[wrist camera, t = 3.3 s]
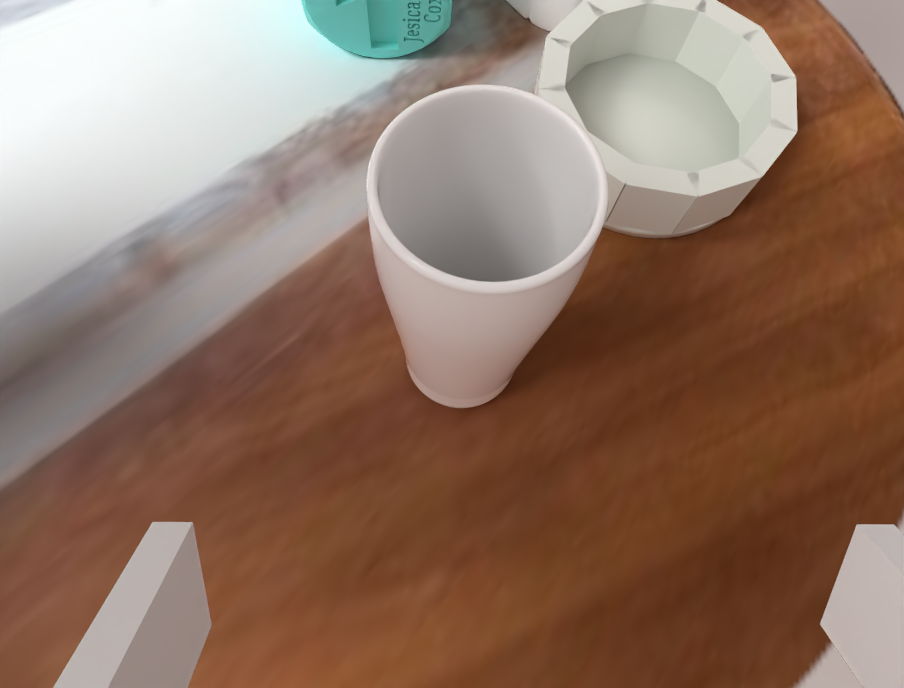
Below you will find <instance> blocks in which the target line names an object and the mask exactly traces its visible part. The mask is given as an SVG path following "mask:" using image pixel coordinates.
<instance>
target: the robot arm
mask: <svg viewBox="0 0 904 688" xmlns="http://www.w3.org/2000/svg"><path fill="white" fill-rule="evenodd" d="M820 625H821V627H822V628H823V629H824V631H825V632H826V634H827V635H828V637H829V638H830V640H831V641H832V643H833V644H834V646H835V647H836V649H837V650H838V652H839V653H840V654H841V656H842V657H843V659H844V660H845V662H846V663H847V665H848V666H849V668H850V669H851V671H852V672H853V674H854V675H855V677H856V678H857V679H858V681H859V683H860V684H861V686H862V687H863V688H904V534H903V533H902V532H901V531H900V530H899V529H898V528H897V527H896V526H895V525H886V524H857V525H856V528H855V531H854V533H853V536H852V539H851V542H850V544H849V547H848V550H847V552H846V555H845V558H844V560H843V563H842V566H841V569H840V571H839V574H838V577H837V579H836V582H835V585H834V587H833V590H832V593H831V595H830V598H829V601H828V604H827V606H826V609H825V612H824V614H823V617H822V620H821V622H820ZM211 626H212V625H211V619H210V614H209V608H208V603H207V597H206V592H205V586H204V581H203V575H202V570H201V564H200V559H199V553H198V548H197V542H196V537H195V531H194V526H193V522H152V524H151V525H150V527H149V529H148V530H147V532H146V534H145V535H144V537H143V539H142V540H141V542H140V544H139V545H138V547H137V549H136V550H135V552H134V554H133V555H132V557H131V559H130V560H129V562H128V564H127V565H126V567H125V569H124V570H123V572H122V574H121V575H120V577H119V579H118V580H117V582H116V584H115V585H114V587H113V589H112V590H111V592H110V594H109V595H108V597H107V599H106V600H105V602H104V604H103V605H102V607H101V609H100V610H99V612H98V614H97V615H96V617H95V619H94V620H93V622H92V624H91V625H90V627H89V629H88V630H87V632H86V634H85V635H84V637H83V639H82V640H81V642H80V644H79V645H78V647H77V649H76V650H75V652H74V654H73V655H72V657H71V659H70V660H69V662H68V664H67V665H66V667H65V669H64V670H63V672H62V674H61V675H60V677H59V679H58V680H57V682H56V684H55V685H54V687H53V688H188V685H189V682H190V680H191V677H192V675H193V672H194V670H195V667H196V664H197V662H198V659H199V657H200V654H201V651H202V649H203V646H204V644H205V641H206V639H207V636H208V633H209V631H210V628H211Z"/></svg>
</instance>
